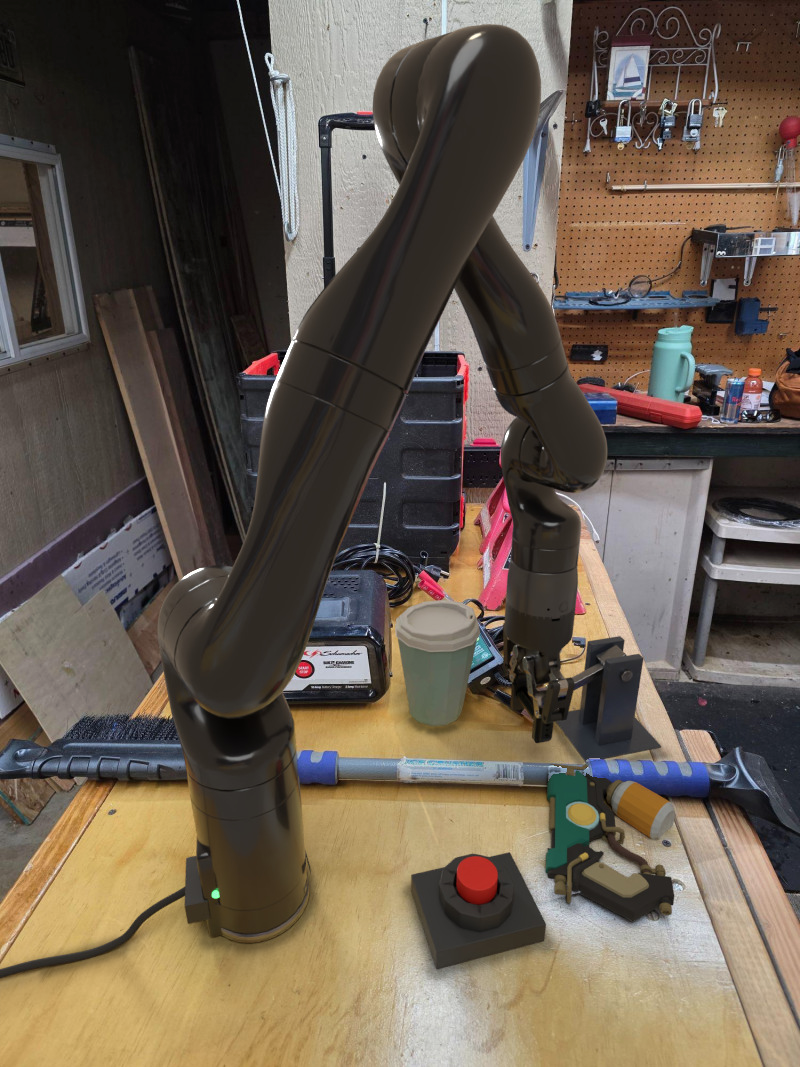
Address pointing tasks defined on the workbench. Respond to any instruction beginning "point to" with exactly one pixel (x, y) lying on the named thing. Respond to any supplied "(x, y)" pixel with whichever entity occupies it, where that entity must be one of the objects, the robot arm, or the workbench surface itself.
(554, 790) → the spray gun
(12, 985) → the workbench surface
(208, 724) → the robot arm
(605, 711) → the bracket
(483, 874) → the button
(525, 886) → the control box
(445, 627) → the disposable coffee cup
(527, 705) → the lever
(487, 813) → the workbench surface
